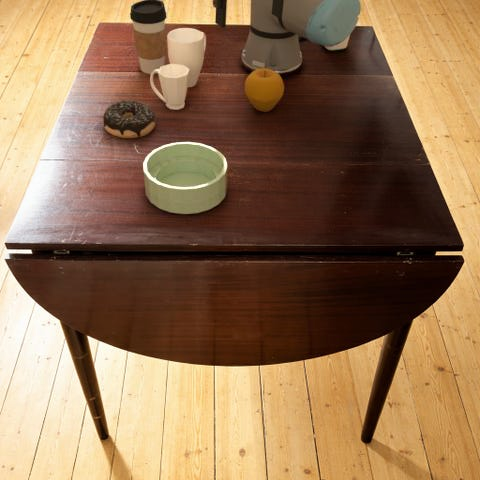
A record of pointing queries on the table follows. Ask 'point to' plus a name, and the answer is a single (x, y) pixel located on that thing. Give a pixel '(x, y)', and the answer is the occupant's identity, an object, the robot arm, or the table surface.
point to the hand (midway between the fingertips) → (249, 20)
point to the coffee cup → (149, 33)
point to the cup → (172, 84)
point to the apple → (264, 89)
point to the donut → (129, 119)
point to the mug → (187, 50)
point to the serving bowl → (185, 177)
